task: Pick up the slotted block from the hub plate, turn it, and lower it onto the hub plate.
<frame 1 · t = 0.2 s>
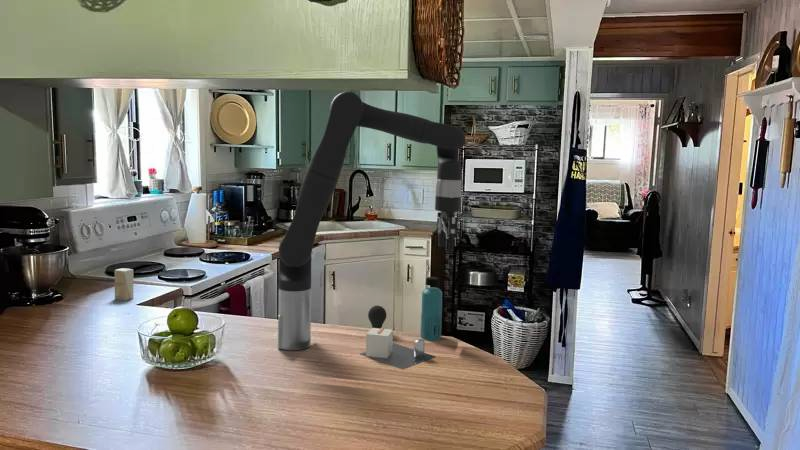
hand: (445, 249, 178), 29 cm above the countertop, fingers open, 8 cm apart
light bulb: (376, 337, 185), on the countertop
hub plate: (397, 360, 164), on the countertop
box: (124, 299, 221), on the countertop
beverage bottle: (430, 342, 182), on the countertop
slotted block: (379, 353, 165), point 1 cm above the countertop, touching hub plate
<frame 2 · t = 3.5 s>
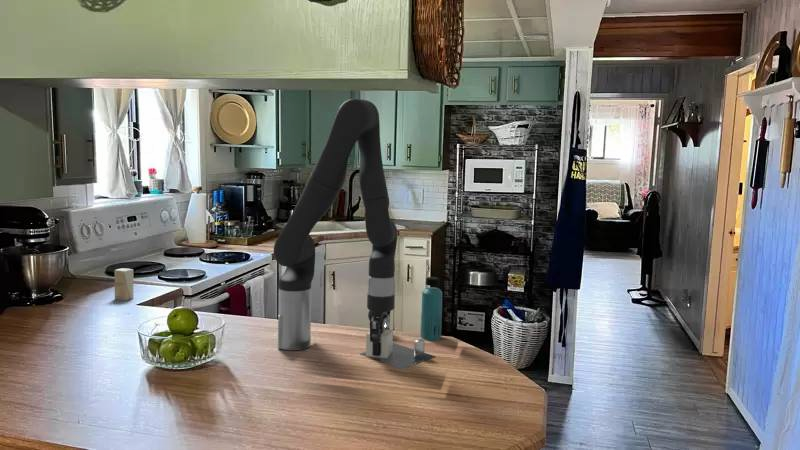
hand: (379, 351, 165), 2 cm above the countertop, fingers closed on slotted block, 6 cm apart
slotted block: (379, 353, 165), point 1 cm above the countertop, touching gripper, hub plate
everything else where it was.
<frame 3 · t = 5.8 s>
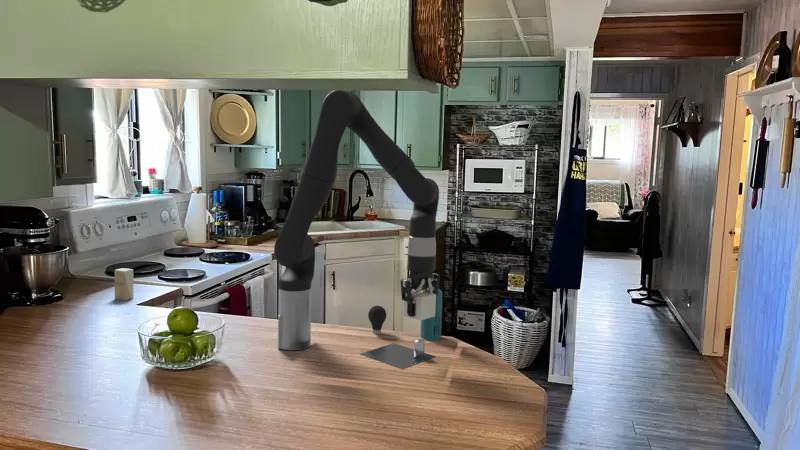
hand: (419, 313, 162), 14 cm above the countertop, fingers closed on slotted block, 6 cm apart
slotted block: (419, 316, 162), point 13 cm above the countertop, touching gripper
everything else where it was.
when the fingers open (4 cm above the countertop, at t = 8.2 s): slotted block drops 1 cm, resting on hub plate.
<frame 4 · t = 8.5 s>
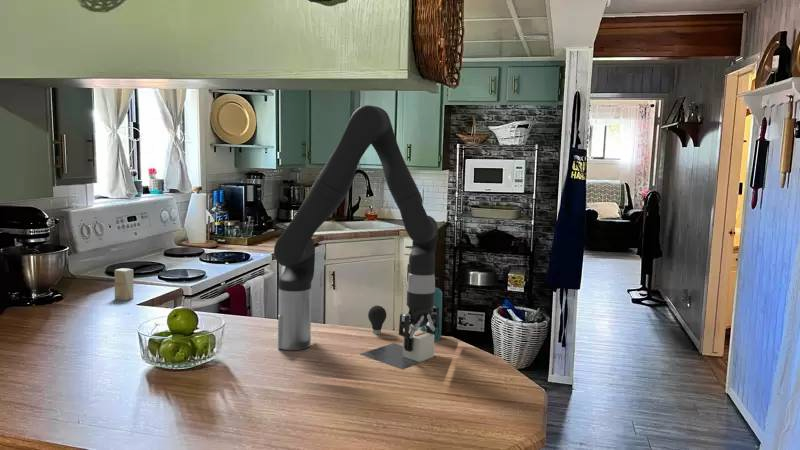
hand: (418, 347, 164), 4 cm above the countertop, fingers open, 8 cm apart
slotted block: (418, 356, 164), point 1 cm above the countertop, touching hub plate
everything else where it was.
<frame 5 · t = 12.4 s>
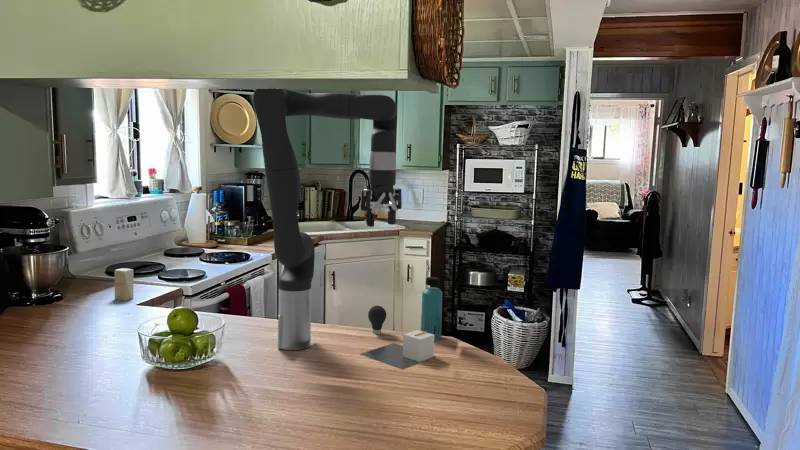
hand: (381, 225, 170), 36 cm above the countertop, fingers open, 8 cm apart
nothing on the countertop moved.
at the end: slotted block 0.1 cm from the target spot, point 1.5 cm above the countertop; slotted block tilted 0°; the gripper is holding nothing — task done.
